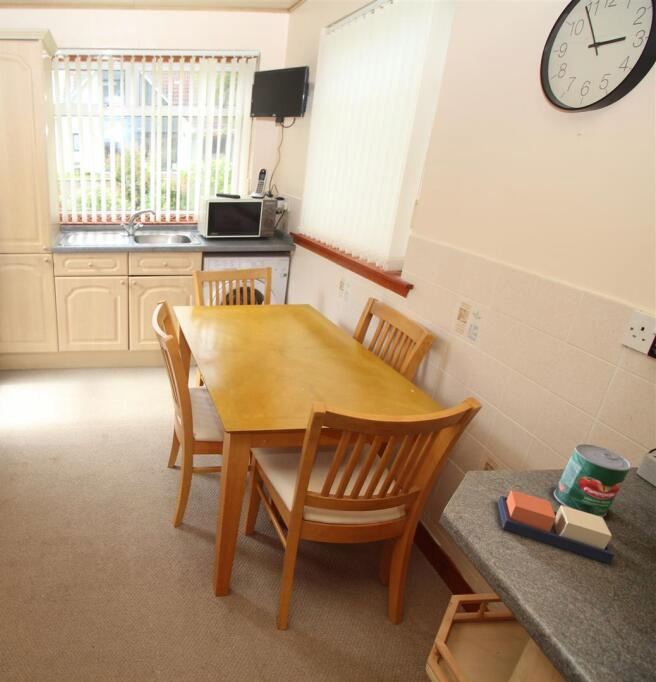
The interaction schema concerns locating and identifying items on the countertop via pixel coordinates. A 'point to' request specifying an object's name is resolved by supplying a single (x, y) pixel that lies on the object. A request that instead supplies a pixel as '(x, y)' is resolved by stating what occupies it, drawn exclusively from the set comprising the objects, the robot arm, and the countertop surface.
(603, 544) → the cream block
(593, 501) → the canned tomato
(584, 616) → the countertop surface
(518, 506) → the orange block
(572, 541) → the frame
